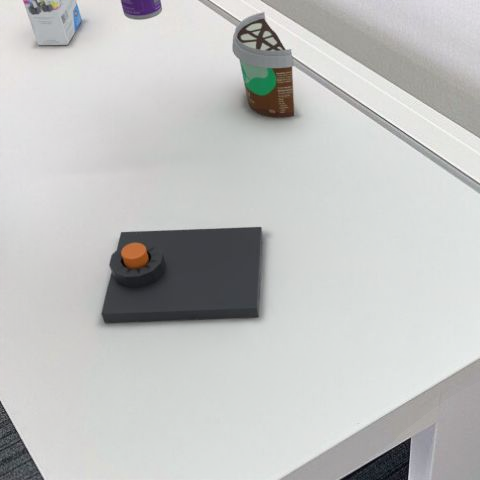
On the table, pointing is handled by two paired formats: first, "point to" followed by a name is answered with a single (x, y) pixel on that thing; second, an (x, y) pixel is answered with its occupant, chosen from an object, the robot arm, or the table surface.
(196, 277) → the scale
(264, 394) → the table surface
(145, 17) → the container
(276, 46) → the food container
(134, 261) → the button
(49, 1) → the ink box
